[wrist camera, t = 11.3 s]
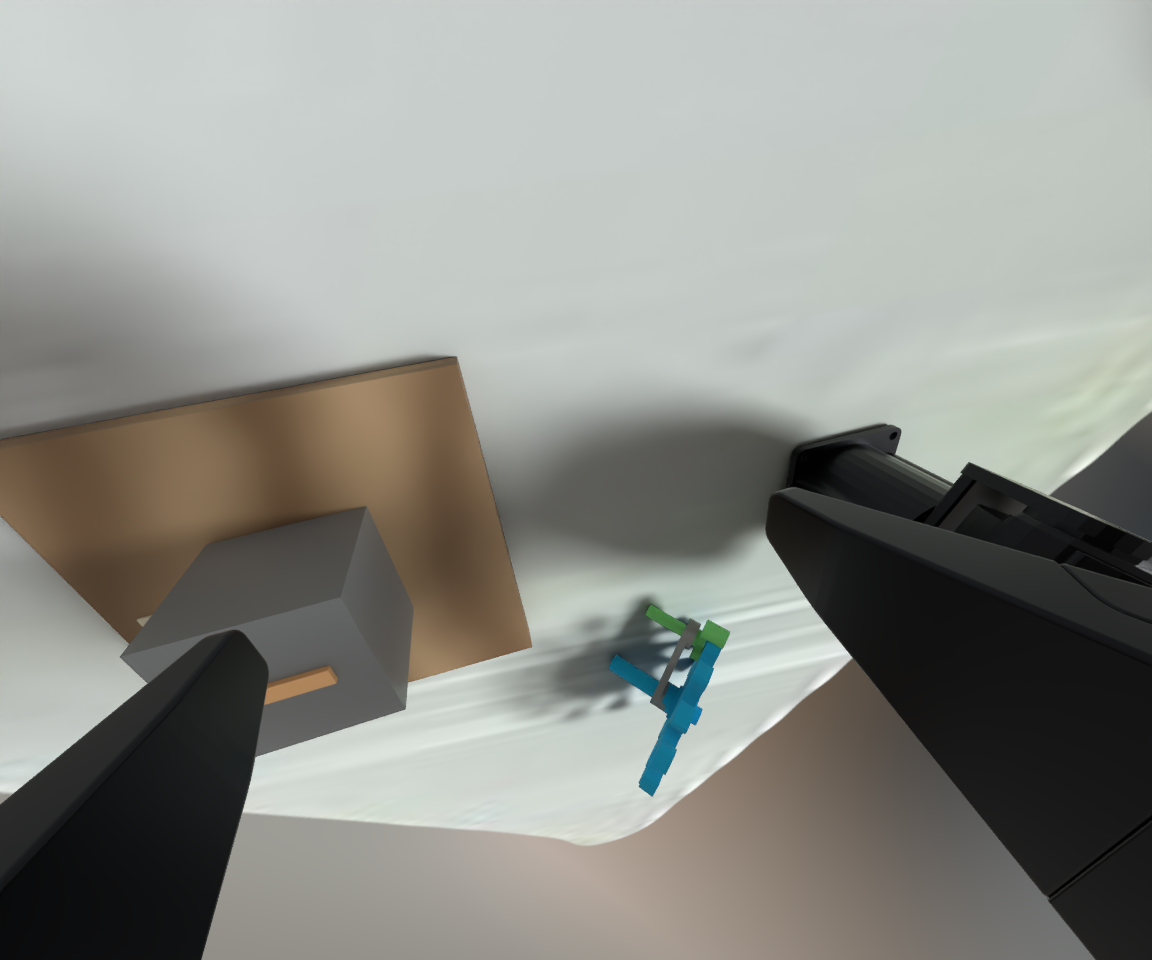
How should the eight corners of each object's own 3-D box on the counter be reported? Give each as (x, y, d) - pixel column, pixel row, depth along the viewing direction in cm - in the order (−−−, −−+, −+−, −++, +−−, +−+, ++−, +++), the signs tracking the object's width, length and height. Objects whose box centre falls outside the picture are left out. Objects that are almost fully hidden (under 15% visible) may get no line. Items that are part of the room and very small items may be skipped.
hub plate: (456, 356, 17) (457, 394, 13) (529, 630, 25) (543, 704, 21) (-21, 443, 14) (-200, 522, 11) (232, 713, 23) (185, 814, 19)
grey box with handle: (366, 505, 18) (338, 602, 13) (413, 607, 21) (405, 714, 16) (206, 544, 17) (115, 662, 12) (280, 644, 20) (231, 769, 15)
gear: (683, 728, 32) (643, 846, 23) (613, 682, 34) (551, 773, 25) (748, 602, 29) (731, 680, 20) (667, 560, 31) (618, 614, 22)
